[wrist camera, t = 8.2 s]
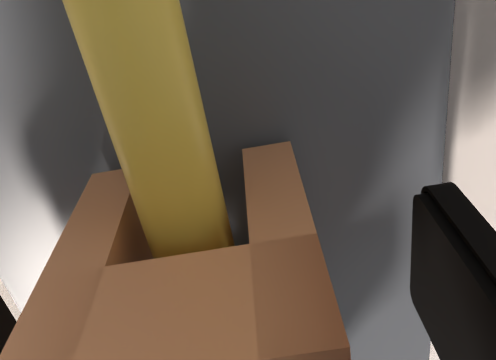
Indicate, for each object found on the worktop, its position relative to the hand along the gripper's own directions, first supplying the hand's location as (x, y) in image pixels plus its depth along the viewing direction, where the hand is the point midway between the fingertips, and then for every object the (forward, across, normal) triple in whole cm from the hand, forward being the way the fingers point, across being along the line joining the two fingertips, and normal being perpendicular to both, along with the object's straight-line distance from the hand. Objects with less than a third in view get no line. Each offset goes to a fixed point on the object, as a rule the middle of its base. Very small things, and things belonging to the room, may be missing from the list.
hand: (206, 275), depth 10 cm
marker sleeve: (+2, 0, 0) cm, 2 cm away
